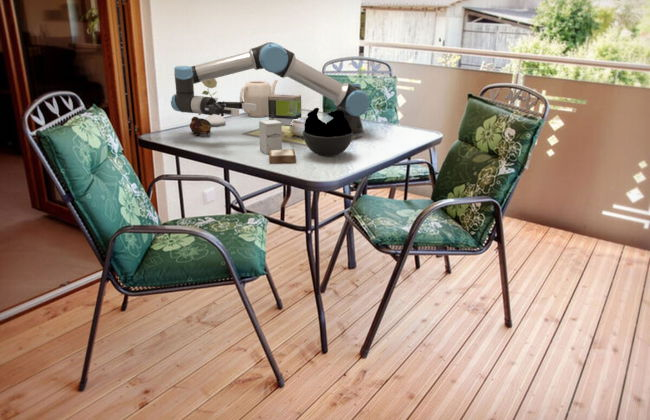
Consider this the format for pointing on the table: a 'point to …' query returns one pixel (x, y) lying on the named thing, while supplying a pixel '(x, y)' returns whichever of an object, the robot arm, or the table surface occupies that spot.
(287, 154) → the walnut base
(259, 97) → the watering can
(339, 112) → the bowl of black rocks
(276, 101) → the tea box
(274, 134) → the supplement box
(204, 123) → the painted clay ocarina
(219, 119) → the flower in vase
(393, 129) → the table surface
